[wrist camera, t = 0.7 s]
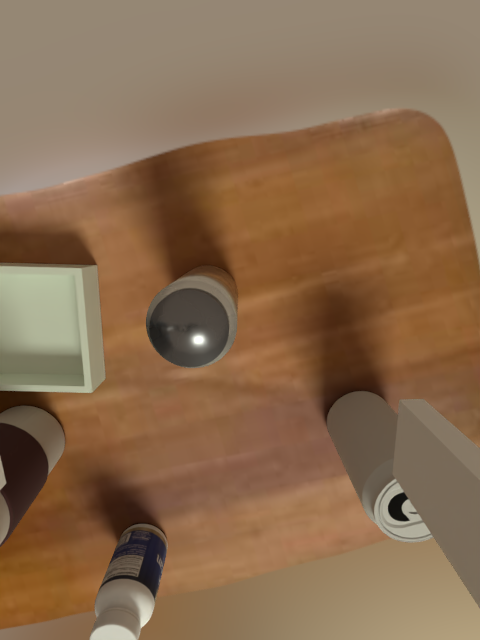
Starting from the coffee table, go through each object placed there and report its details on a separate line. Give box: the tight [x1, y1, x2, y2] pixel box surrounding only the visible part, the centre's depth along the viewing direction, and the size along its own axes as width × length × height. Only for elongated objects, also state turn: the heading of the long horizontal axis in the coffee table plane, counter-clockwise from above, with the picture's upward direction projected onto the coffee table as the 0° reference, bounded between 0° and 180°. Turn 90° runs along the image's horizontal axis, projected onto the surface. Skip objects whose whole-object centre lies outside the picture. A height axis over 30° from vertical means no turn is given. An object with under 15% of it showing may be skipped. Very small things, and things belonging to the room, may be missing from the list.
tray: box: [0, 263, 106, 393], centre depth 30 cm, size 12×11×3 cm
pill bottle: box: [90, 524, 167, 640], centre depth 33 cm, size 5×5×10 cm
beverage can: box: [327, 391, 433, 542], centre depth 28 cm, size 6×6×12 cm
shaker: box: [146, 265, 238, 368], centre depth 25 cm, size 6×6×12 cm
